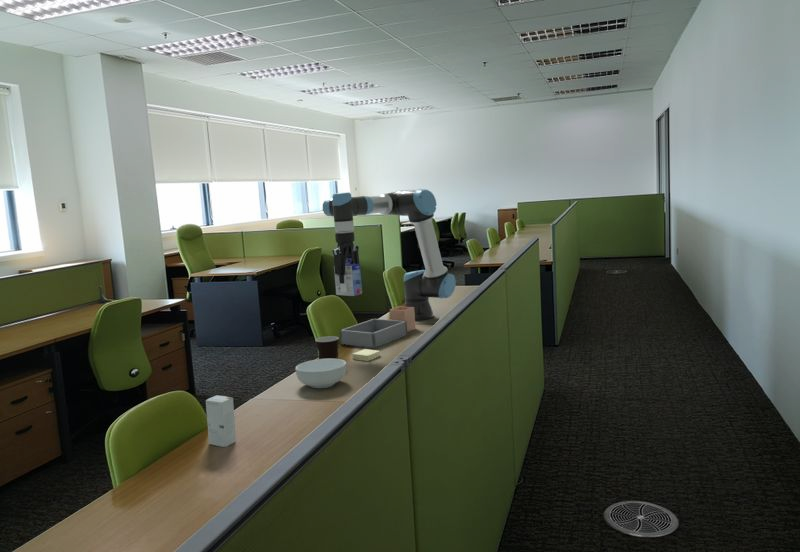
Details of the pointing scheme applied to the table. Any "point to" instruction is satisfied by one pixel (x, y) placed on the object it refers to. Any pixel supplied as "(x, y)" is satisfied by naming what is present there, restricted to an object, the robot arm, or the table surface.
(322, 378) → the cereal bowl
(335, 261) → the robot arm
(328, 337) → the coffee mug
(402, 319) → the pen holder
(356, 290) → the ink cartridge box
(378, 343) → the grey bin
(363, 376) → the table surface
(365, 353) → the sticky note pad
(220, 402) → the skincare box
